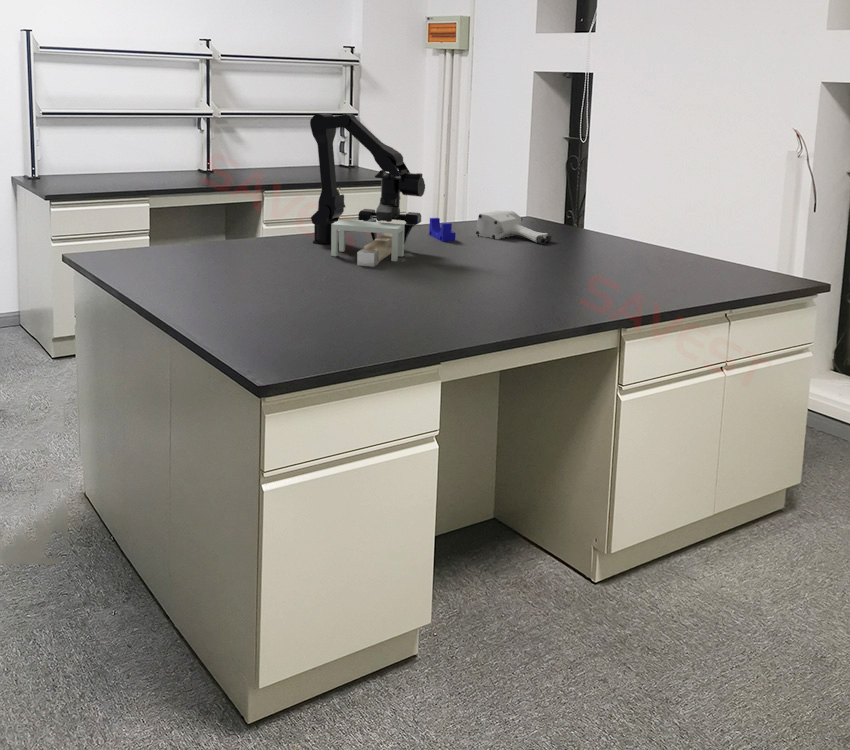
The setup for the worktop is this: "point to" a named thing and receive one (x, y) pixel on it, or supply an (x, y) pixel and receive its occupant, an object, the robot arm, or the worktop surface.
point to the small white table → (365, 226)
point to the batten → (381, 245)
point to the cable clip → (441, 230)
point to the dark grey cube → (368, 257)
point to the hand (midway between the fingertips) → (389, 244)
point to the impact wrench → (507, 227)
